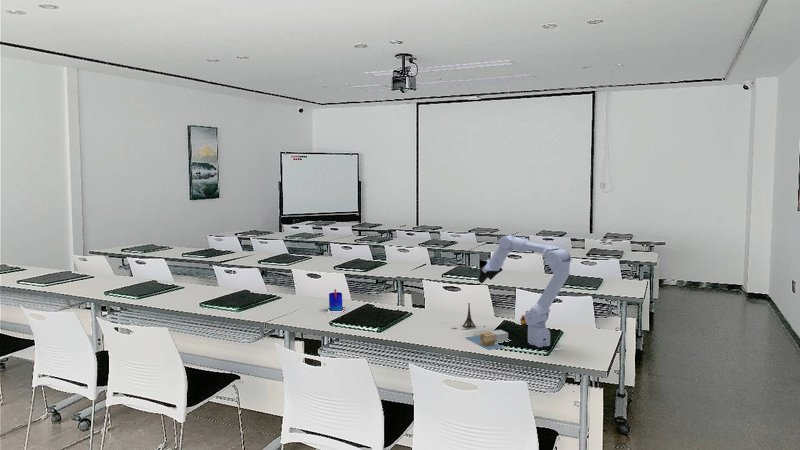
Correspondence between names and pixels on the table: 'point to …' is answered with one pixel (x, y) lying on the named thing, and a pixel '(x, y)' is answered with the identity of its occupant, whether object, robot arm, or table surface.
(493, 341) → the wooden cube
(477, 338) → the board
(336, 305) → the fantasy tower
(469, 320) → the eiffel tower figurine
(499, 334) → the base block
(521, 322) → the small brown rounded figure
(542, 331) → the robot arm
